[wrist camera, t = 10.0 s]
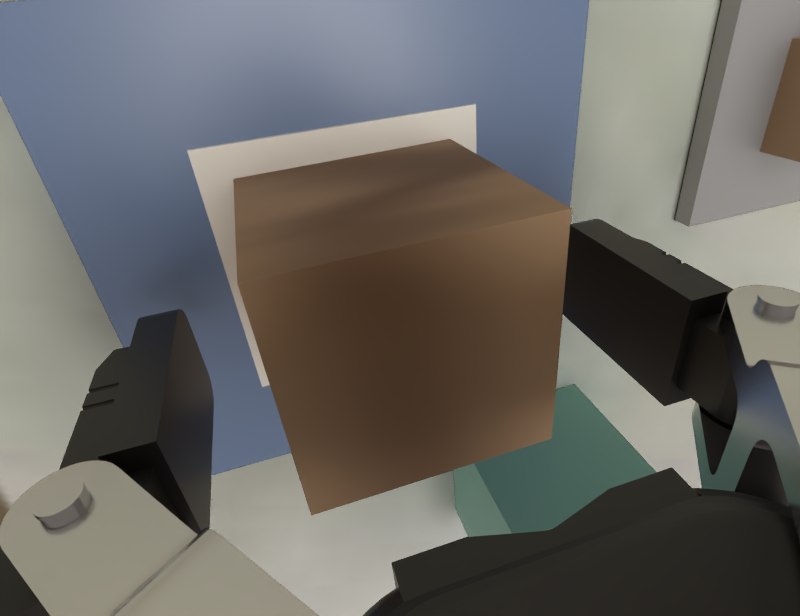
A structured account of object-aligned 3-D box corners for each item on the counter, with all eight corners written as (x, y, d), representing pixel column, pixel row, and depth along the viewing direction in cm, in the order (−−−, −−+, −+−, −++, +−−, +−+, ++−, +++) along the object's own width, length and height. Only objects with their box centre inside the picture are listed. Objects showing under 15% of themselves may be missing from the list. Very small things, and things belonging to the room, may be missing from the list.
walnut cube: (450, 138, 12) (571, 207, 8) (458, 315, 14) (551, 438, 10) (233, 178, 11) (238, 283, 7) (285, 360, 13) (311, 515, 9)
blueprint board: (572, -52, 11) (597, -57, 11) (541, 363, 18) (555, 379, 17) (-23, 7, 9) (-45, 7, 8) (190, 461, 15) (188, 484, 15)
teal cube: (573, 382, 19) (669, 486, 15) (562, 470, 22) (641, 579, 17) (449, 418, 18) (515, 541, 14) (454, 506, 21) (511, 630, 16)
